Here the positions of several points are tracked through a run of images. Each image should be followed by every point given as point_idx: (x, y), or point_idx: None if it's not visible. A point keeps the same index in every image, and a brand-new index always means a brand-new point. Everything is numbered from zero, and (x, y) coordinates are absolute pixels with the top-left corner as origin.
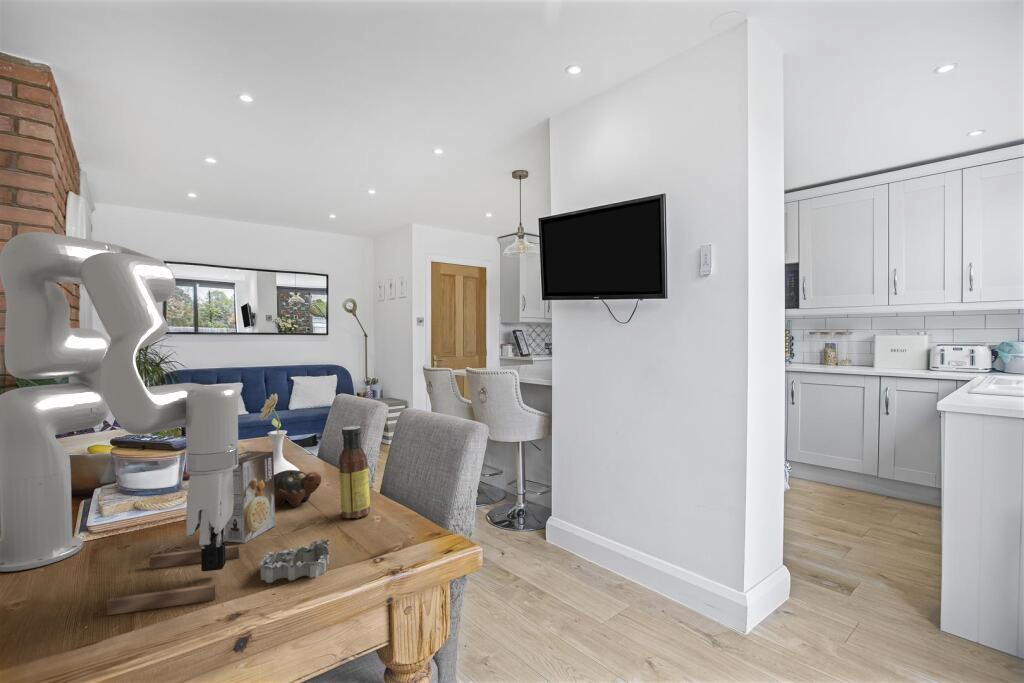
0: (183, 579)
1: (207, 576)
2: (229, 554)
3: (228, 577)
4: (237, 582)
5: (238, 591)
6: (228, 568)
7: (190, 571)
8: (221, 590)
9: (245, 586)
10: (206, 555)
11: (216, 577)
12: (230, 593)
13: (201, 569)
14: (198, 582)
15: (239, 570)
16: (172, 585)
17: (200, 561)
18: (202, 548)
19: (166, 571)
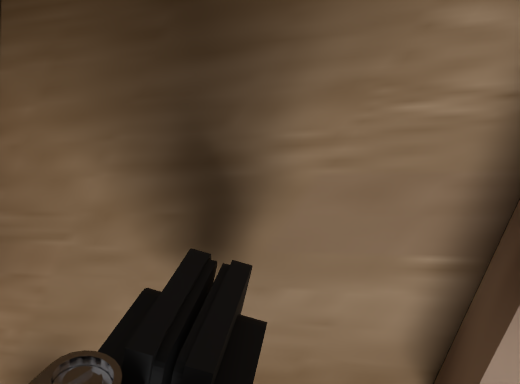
0: (288, 128)
1: (256, 247)
2: (450, 381)
3: None
4: None
5: (18, 350)
6: (305, 342)
7: (395, 162)
8: (54, 295)
9: None
10: (108, 340)
11: None
12: (10, 323)
13: (190, 250)
14: (198, 205)
15: None
16: (231, 71)
17: (513, 221)
18: (69, 361)
19: (511, 7)
